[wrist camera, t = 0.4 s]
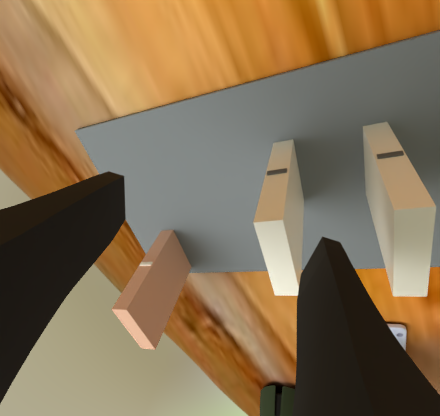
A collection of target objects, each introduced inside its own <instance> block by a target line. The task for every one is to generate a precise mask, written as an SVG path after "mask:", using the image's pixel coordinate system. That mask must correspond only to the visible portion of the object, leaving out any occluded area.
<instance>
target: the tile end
mask: <svg viewBox="0 0 440 416" xmlns="http://www.w3.org/2000/svg"><path fill="white" fill-rule="evenodd" d="M190 269H191V265H190V263H189V261H188V259H187V257H186V255H185V253H184V251H183V249H182V247H181V245H180V243H179V240H178V238H177V236H176V234H175V232H174V230H164V231H161V232H160V233H159V235H158V237H157V238H156V240H155V241H154V243H153V245H152V246H151V248H150V249H149V251H148V252H147V254H146V256H145V257H144V259H143V260H142V262H141V263H140V265H139V267H138V268H137V270H136V271H135V273H134V275H133V276H132V278H131V279H130V281H129V283H128V284H127V286H126V287H125V289H124V290H123V292H122V294H121V295H120V297H119V298H118V300H117V302H116V303H115V305H114V306H113V308H112V310H113V312H114V313H115V314H116V316H117V317H118V318H119V320H120V321H121V322H122V324H123V325H124V326H125V327H126V329H127V330H128V331H129V333H130V334H131V335H132V337H133V338H134V339H135V341H136V342H137V343H138V344H139V346H140V347H141V348H143V349H154V350H155V349H156V347H157V345H158V342H159V340H160V338H161V335H162V333H163V331H164V329H165V326H166V324H167V322H168V320H169V317H170V315H171V313H172V310H173V308H174V306H175V304H176V301H177V299H178V297H179V294H180V292H181V290H182V288H183V285H184V283H185V281H186V278H187V276H188V274H189V272H190Z"/></svg>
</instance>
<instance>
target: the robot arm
mask: <svg viewBox="0 0 440 416" xmlns="http://www.w3.org/2000/svg"><path fill="white" fill-rule="evenodd" d="M125 219H126V214H125V183H124V176H123V175H119V174H116V173H113V172H110V171H108V172H105V173H102V174H99V175H96V176H94V177H91V178H88V179H86V180H83V181H81V182H78V183H76V184H73V185H71V186H68V187H65V188H63V189H60V190H58V191H55V192H52V193H50V194H47V195H44V196H41V197H38V198H35V199H32V200H30V201H26V202H24V203H21V204H18V205H15V206H11V207H8V208H5V209H1V210H0V403H1V401H2V400H3V398H4V396H5V394H6V392H7V391H8V389H9V387H10V385H11V383H12V382H13V380H14V378H15V377H16V375H17V373H18V372H19V370H20V368H21V366H22V365H23V363H24V361H25V360H26V358H27V356H28V355H29V353H30V351H31V350H32V348H33V346H34V345H35V343H36V342H37V340H38V339H39V337H40V336H41V334H42V332H43V331H44V329H45V328H46V326H47V325H48V323H49V322H50V320H51V319H52V317H53V315H54V314H55V313H56V311H57V309H58V308H59V307H60V305H61V303H62V302H63V301H64V299H65V298H66V296H67V295H68V294H69V293H70V291H71V290H72V289H73V287H74V286H75V285H76V284H77V282H78V281H79V280H80V279H81V278H82V277H83V275H84V274H85V273H86V272H87V271H88V269H89V268H90V267H91V266H92V265H93V263H94V262H95V261H96V260H97V259H98V257H99V256H100V255H101V254H102V252H103V251H104V250H105V249H106V248H107V246H108V245H109V244H110V243H111V241H112V240H113V238H114V237H115V235H116V234H117V232H118V231H119V229H120V227H121V226H122V224H123V222H124V221H125ZM406 334H407V331H406V327H405V326H404V325H401V324H386V322H385V320H384V319H383V317H382V316H381V314H380V313H379V311H378V309H377V308H376V306H375V305H374V303H373V301H372V300H371V298H370V296H369V294H368V293H367V291H366V289H365V287H364V286H363V284H362V282H361V280H360V278H359V277H358V275H357V273H356V271H355V269H354V267H353V265H352V263H351V261H350V260H349V258H348V256H347V254H346V252H345V250H344V248H343V246H342V244H341V243H340V242H338V241H335V240H332V239H329V238H325V237H322V238H321V240H320V241H319V243H318V245H317V247H316V248H315V250H314V252H313V254H312V256H311V257H310V259H309V261H308V263H307V265H306V266H305V268H304V270H303V272H302V273H301V277H300V284H299V291H298V299H297V369H296V385H295V394H294V404H293V413H292V416H440V395H439V394H438V392H437V391H436V390H435V389H434V388H433V386H432V385H431V384H430V383H429V382H428V380H427V379H426V378H425V376H424V375H423V374H422V373H421V371H420V370H419V369H418V367H417V366H416V365H415V363H414V362H413V361H412V359H411V358H410V357H409V355H408V354H407V353H406Z"/></svg>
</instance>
